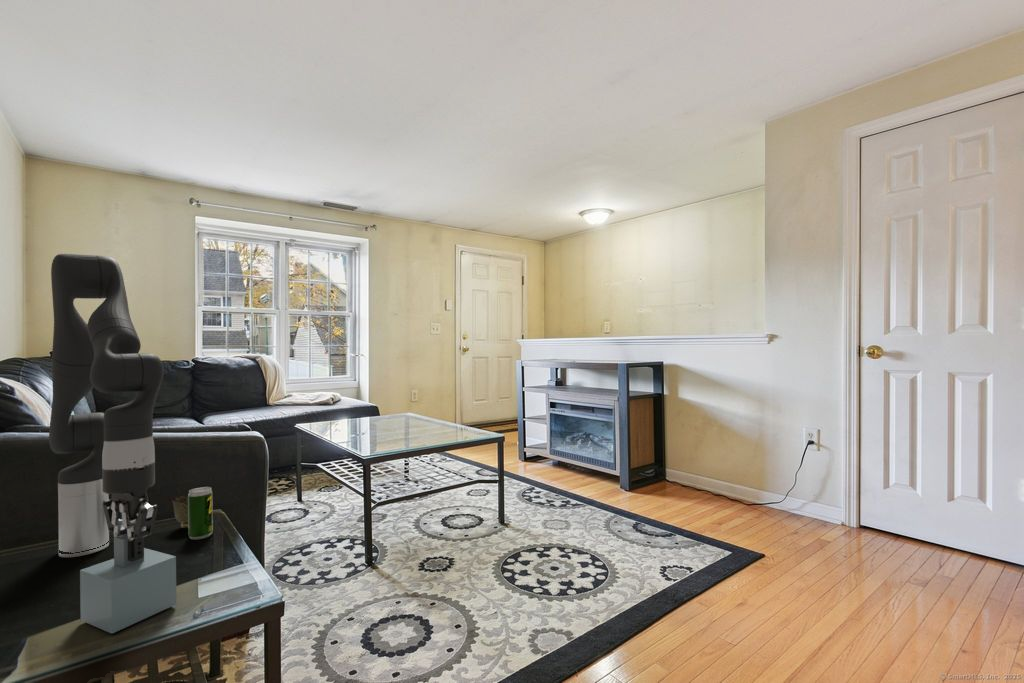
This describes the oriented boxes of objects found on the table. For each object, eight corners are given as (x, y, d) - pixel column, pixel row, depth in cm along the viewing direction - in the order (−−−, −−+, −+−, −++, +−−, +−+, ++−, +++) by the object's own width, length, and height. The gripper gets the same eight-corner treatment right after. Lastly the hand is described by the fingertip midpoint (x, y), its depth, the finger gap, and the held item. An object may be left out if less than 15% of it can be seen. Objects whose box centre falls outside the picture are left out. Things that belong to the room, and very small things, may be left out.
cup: (183, 522, 136) (182, 494, 136) (210, 521, 137) (210, 492, 137) (166, 532, 129) (166, 502, 129) (195, 531, 129) (195, 501, 129)
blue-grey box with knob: (80, 620, 85) (79, 541, 85) (145, 593, 94) (144, 522, 95) (111, 633, 81) (110, 550, 81) (176, 604, 90) (175, 529, 90)
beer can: (188, 541, 122) (187, 493, 122) (188, 535, 126) (187, 489, 126) (213, 536, 125) (212, 490, 125) (212, 530, 129) (212, 485, 129)
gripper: (84, 464, 88) (85, 560, 88) (126, 471, 82) (128, 573, 81) (131, 455, 95) (132, 544, 94) (174, 461, 88) (175, 556, 88)
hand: (130, 557), depth 88 cm, fingers closed on blue-grey box with knob, 3 cm apart
